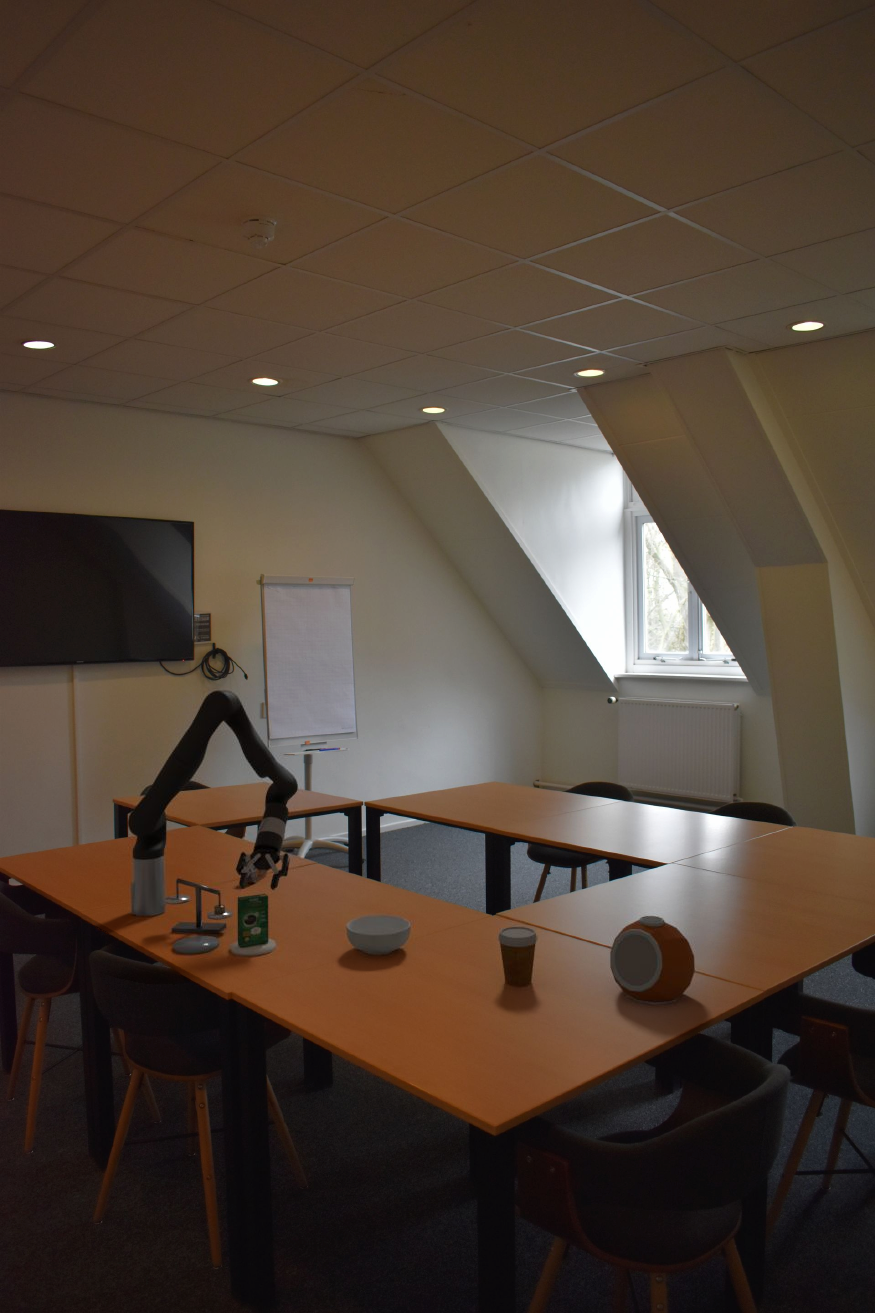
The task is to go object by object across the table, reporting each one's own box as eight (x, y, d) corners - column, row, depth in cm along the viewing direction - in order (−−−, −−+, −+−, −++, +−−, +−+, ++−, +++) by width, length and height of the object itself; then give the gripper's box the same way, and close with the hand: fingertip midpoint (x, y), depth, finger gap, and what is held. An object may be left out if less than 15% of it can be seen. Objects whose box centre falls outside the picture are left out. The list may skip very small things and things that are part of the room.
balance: (161, 932, 267) (160, 881, 266) (171, 925, 274) (170, 874, 273) (227, 934, 264) (226, 882, 264) (236, 927, 271) (235, 876, 271)
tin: (252, 886, 316) (251, 861, 316) (243, 885, 317) (242, 860, 316) (268, 874, 331) (268, 850, 330) (260, 874, 331) (260, 850, 331)
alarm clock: (595, 993, 217) (594, 919, 217) (637, 973, 229) (637, 903, 229) (668, 1016, 203) (667, 937, 203) (709, 994, 216) (708, 919, 215)
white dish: (223, 955, 247) (223, 951, 247) (239, 940, 259) (239, 937, 259) (267, 957, 245) (267, 953, 245) (281, 942, 257) (281, 938, 257)
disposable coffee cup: (513, 971, 232) (512, 923, 231) (545, 980, 226) (545, 930, 225) (490, 983, 224) (489, 933, 224) (523, 992, 218) (522, 941, 218)
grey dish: (166, 953, 249) (165, 949, 249) (184, 938, 261) (184, 935, 261) (209, 955, 248) (209, 951, 248) (225, 940, 259) (225, 936, 259)
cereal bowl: (353, 964, 239) (352, 936, 239) (341, 944, 255) (341, 918, 255) (417, 957, 243) (417, 930, 243) (402, 937, 259) (402, 912, 259)
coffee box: (266, 940, 256) (264, 892, 255) (269, 943, 253) (268, 894, 253) (237, 945, 251) (236, 897, 251) (240, 948, 249) (239, 899, 249)
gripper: (243, 829, 266) (228, 880, 255) (291, 830, 264) (279, 881, 253) (249, 843, 271) (236, 894, 260) (297, 845, 269) (285, 895, 258)
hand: (257, 888), depth 257 cm, fingers open, 8 cm apart
